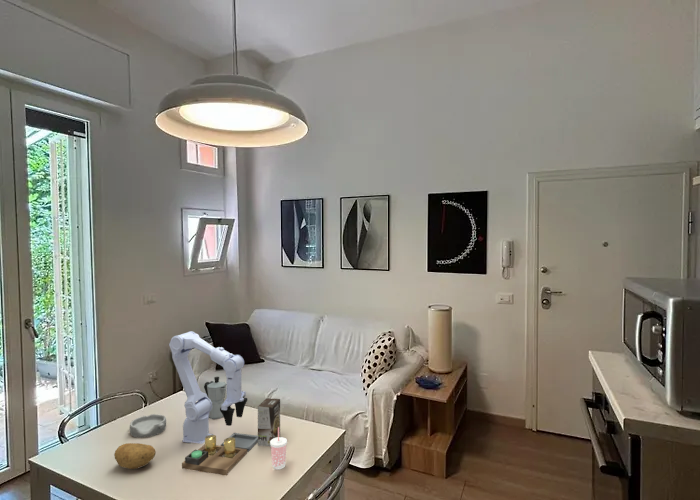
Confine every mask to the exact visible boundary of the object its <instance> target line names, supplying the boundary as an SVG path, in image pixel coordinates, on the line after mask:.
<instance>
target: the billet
mask: <svg viewBox="0 0 700 500" xmlns="http://www.w3.org/2000/svg"><path fill="white" fill-rule="evenodd" d="M229 437H230V436H229ZM229 437H227V438H225V439H224V440H223V442H224V455H223V457H226V458H233V457H234V456H235V455H236V453H235V438H233V437H230V438H229Z"/></svg>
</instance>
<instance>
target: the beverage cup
mask: <svg viewBox="0 0 700 500" xmlns="http://www.w3.org/2000/svg"><path fill="white" fill-rule="evenodd" d="M287 444H288V440H287V438H286V437H283V436H280V437H279V427H278V437H276V438H273V439H272V440H271V441H270V445H271V447H270V450H271V453H270V454H271V463H272V464H271V465H272V468H273V469H274V470H281V469H284V468H285V466H286V461H287V460H286V459H287V457H286V456H287Z"/></svg>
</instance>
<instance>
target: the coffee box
mask: <svg viewBox="0 0 700 500" xmlns="http://www.w3.org/2000/svg"><path fill="white" fill-rule="evenodd" d="M278 427H279V437H281V399H280V398H268V397H266V398H265V399H264V400H263V401H262V402H261V403H260V404H258V406H257V436H258V442H257V446H262V447H270V448H271V445H270V441H271V440H272V439H273V438H276V437H278Z"/></svg>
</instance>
